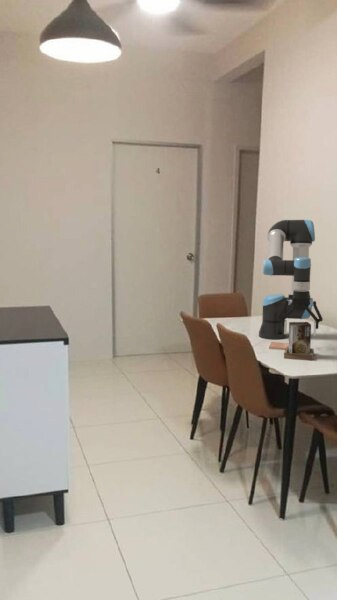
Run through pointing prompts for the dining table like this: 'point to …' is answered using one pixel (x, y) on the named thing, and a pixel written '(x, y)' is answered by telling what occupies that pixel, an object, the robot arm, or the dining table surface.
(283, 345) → the terracotta tile
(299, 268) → the robot arm
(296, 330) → the coffee box
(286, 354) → the tray
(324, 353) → the dining table surface
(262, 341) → the dining table surface
